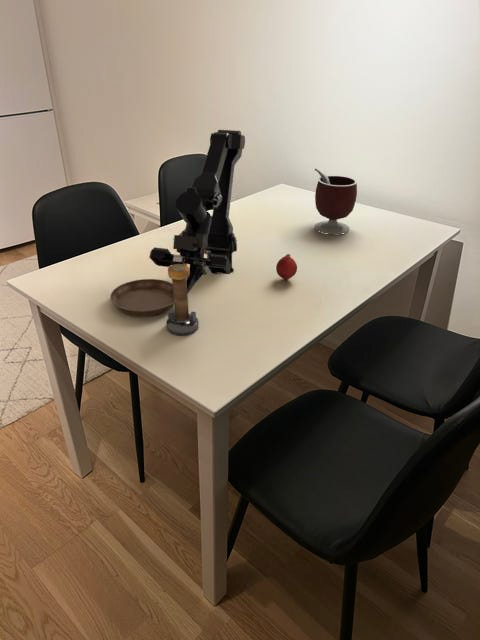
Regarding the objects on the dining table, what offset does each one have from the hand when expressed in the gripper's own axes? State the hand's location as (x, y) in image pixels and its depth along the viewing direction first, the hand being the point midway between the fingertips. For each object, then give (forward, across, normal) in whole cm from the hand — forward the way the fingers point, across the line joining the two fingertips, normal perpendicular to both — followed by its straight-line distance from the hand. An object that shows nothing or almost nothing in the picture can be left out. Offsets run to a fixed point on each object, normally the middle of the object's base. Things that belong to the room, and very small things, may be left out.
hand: (183, 294), depth 115 cm
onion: (-15, +20, +27) cm, 37 cm away
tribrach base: (+7, 0, +4) cm, 8 cm away
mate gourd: (-47, +29, +58) cm, 80 cm away
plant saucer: (+1, -13, +11) cm, 17 cm away
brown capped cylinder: (+5, 0, +3) cm, 6 cm away
